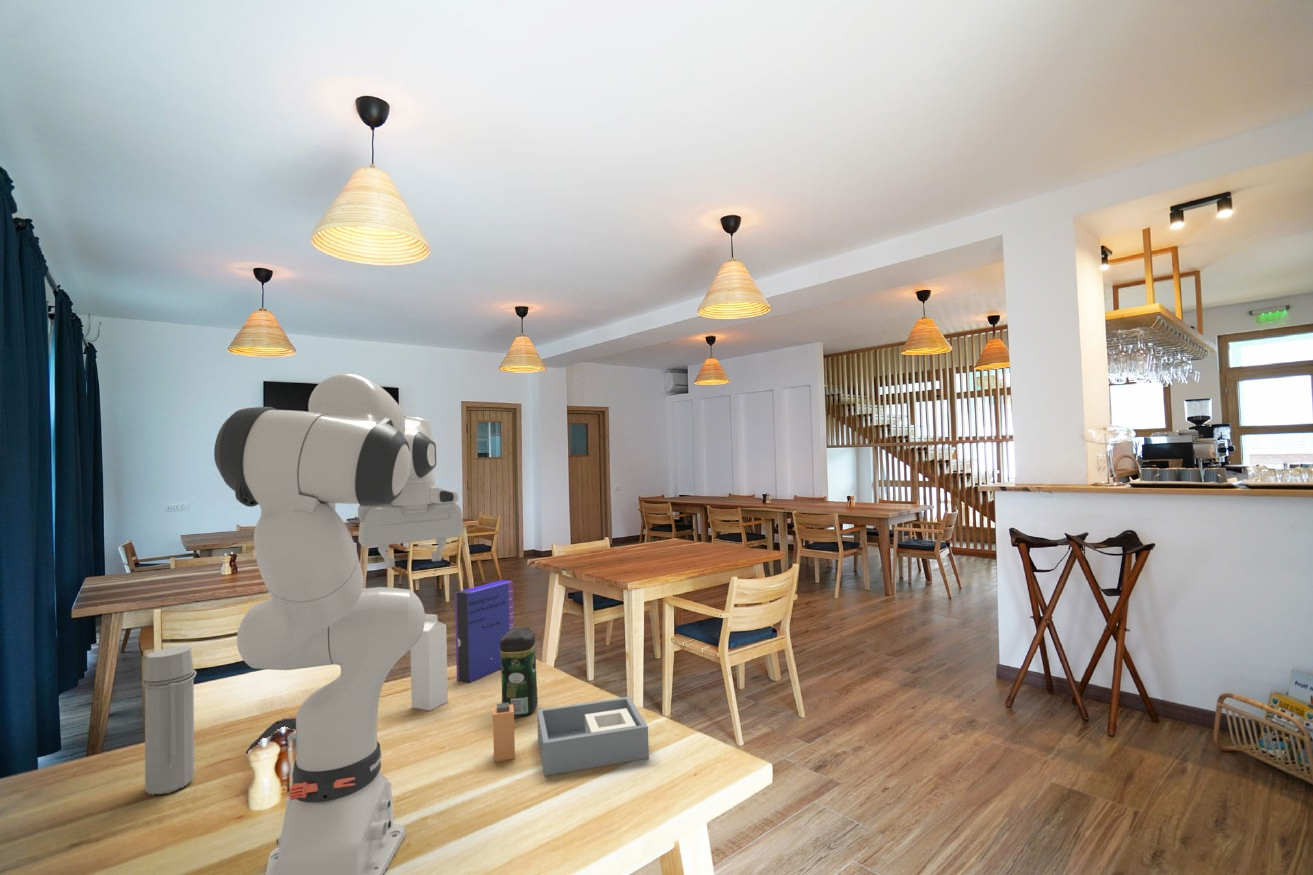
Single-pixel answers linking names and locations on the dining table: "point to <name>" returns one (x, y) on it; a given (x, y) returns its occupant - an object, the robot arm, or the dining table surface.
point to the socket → (608, 721)
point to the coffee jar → (519, 670)
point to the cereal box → (482, 628)
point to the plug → (503, 732)
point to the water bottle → (169, 720)
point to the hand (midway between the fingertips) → (413, 564)
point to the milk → (429, 666)
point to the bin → (588, 737)
